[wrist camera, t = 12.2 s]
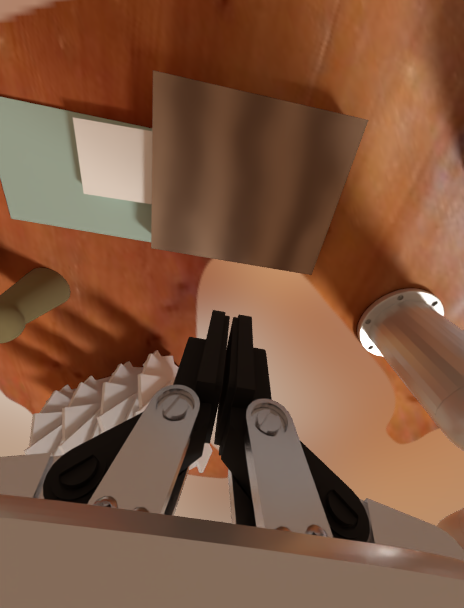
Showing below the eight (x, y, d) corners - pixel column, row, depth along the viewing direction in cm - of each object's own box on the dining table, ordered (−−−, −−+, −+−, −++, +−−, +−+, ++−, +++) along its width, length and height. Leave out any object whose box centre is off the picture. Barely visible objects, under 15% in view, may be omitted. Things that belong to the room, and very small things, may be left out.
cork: (19, 268, 35) (-62, 307, 25) (61, 266, 34) (-4, 306, 25) (37, 304, 38) (-29, 352, 28) (76, 303, 38) (23, 351, 28)
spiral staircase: (87, 371, 50) (190, 332, 44) (120, 448, 51) (227, 421, 44) (-23, 425, 33) (122, 374, 26) (31, 542, 33) (185, 520, 27)
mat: (158, 130, 27) (157, 129, 26) (155, 242, 33) (155, 242, 32) (-20, 92, 25) (-23, 91, 25) (13, 217, 31) (11, 218, 31)
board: (350, 125, 26) (368, 119, 23) (303, 263, 34) (311, 274, 31) (164, 83, 25) (152, 70, 21) (159, 238, 32) (151, 248, 29)
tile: (159, 133, 26) (154, 131, 25) (159, 202, 30) (155, 204, 28) (83, 120, 26) (72, 117, 24) (92, 191, 29) (83, 193, 28)
